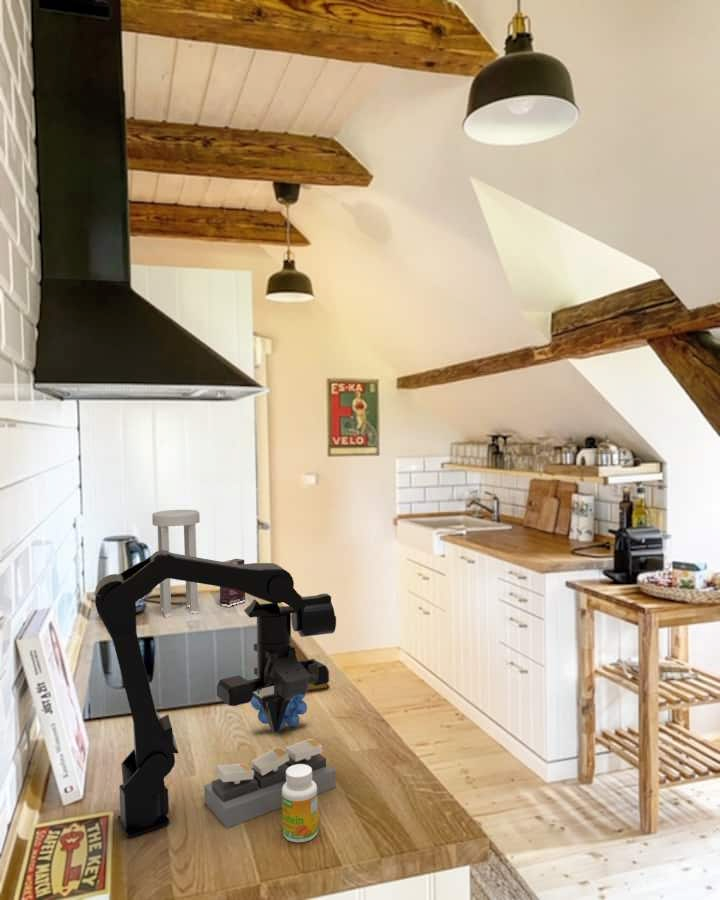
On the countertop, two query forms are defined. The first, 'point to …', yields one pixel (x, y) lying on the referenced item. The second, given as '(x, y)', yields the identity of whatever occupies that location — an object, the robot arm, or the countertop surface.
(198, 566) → the robot arm
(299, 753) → the far rocker
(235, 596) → the supplement box
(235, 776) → the block
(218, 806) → the rocker switch strip
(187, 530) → the stool
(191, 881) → the countertop surface
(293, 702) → the grapes
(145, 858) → the countertop surface
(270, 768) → the middle rocker
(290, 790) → the supplement bottle
